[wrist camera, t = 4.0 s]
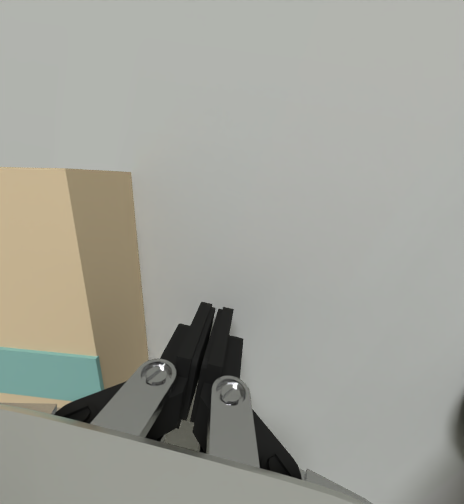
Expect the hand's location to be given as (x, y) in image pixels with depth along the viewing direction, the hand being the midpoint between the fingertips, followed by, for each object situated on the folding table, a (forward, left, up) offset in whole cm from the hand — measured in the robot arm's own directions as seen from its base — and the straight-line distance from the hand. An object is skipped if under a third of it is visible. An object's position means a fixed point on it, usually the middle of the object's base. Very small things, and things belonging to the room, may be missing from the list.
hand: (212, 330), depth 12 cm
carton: (+8, 0, -2) cm, 9 cm away
